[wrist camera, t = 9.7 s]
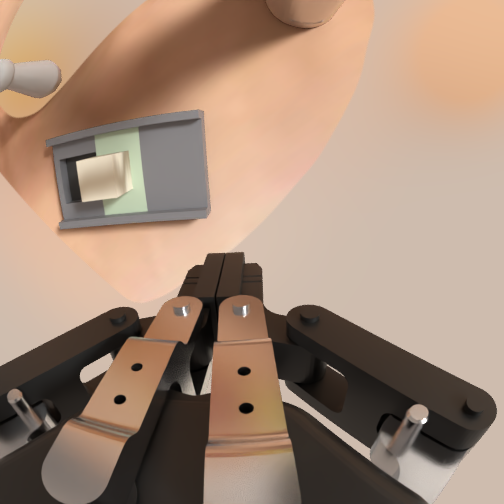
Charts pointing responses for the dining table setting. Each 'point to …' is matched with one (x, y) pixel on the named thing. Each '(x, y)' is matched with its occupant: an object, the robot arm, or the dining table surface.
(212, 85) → the dining table surface
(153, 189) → the trap lane
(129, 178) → the maple block
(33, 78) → the salt shaker
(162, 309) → the robot arm
